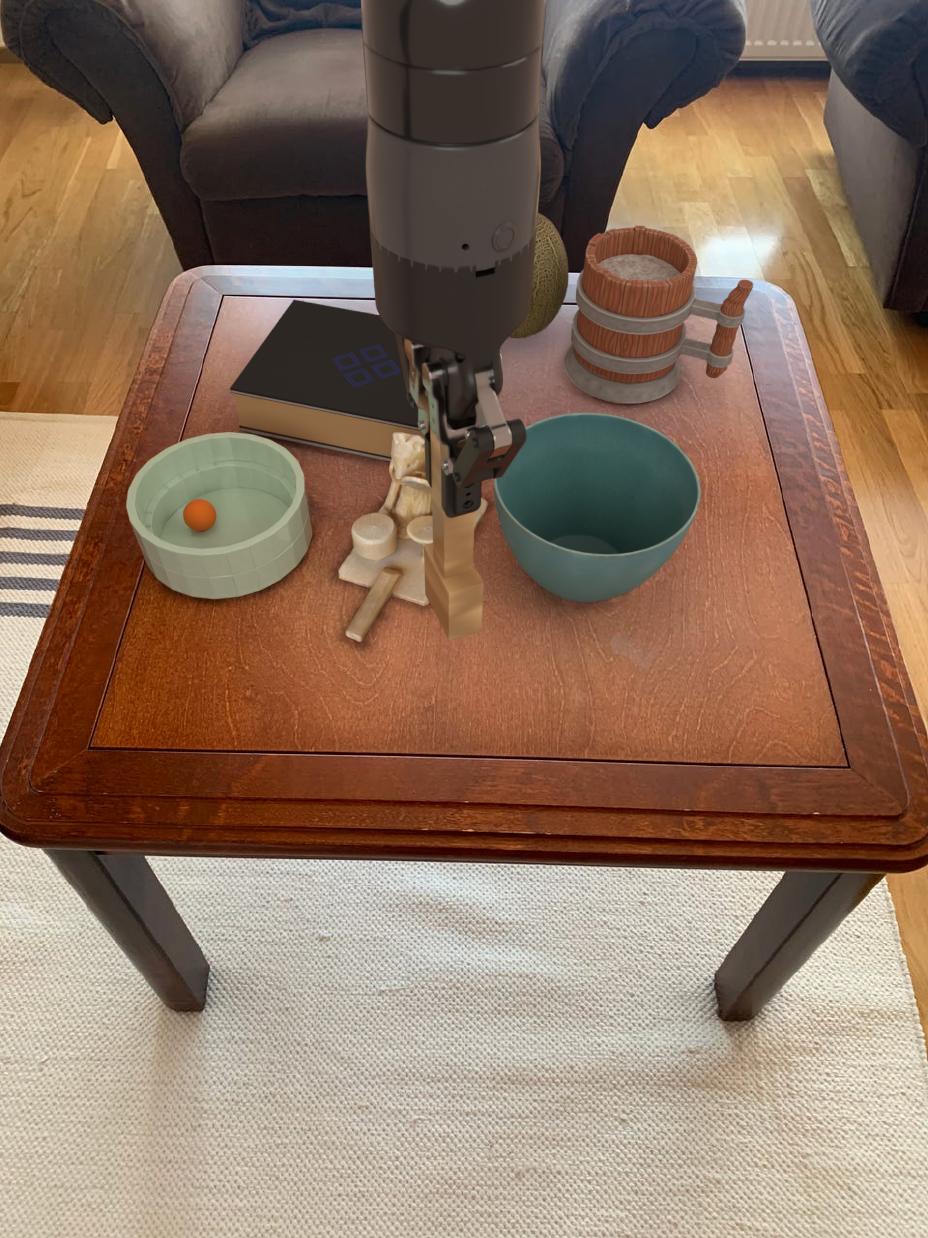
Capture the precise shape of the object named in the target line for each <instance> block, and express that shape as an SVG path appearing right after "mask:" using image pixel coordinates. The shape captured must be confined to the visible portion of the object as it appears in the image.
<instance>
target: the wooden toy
mask: <svg viewBox="0 0 928 1238" xmlns="http://www.w3.org/2000/svg"><path fill="white" fill-rule="evenodd" d="M391 458H392V460H391V462H389V468H388V472H389V475H390V478H391V482H390V486H389V489H388V493H387V496H386V499H385V501H384V503H383V505H382V506H381V508H380V509H379V510H378V511H373V512H369V513H365V514H364V515H360V516H359V517H358V518H356V519H355V521H354V522H353V523H352V525H351V529H350V530H351V531H350V533H351V538H352V546H353V548H351V549H352V550H351V551H350V552H349V554H348V555H347V557H346V558H345V560H344V561H343V562H342V564H341V565H340V567H339V568H338V570H337V573H338V578H339V580H342V581H346V582H349V583H352V584H354V585H358V586H361V587H364V588H367V589H369V591H368V593H367V594H366V596H365V598H364V600H363V602H362V603H361V604H360V606H359V607H358V609H357V610H356V612H355V614H354V616H353V617H352V619H351V621H350V623H348V626H347V627H346V629H345V632H344V634H345V636H346V637H348V638H349V639H352V640H354V641H356V642H358V643H361V642H363V641H364V639H365V637H366V635H367V633H368V632H369V630H371V627H372V626H373V624H374V623H375V622H376V620H377V618H378V615H379V614H380V613H381V611H382V610H383V609H384V605H385V604H386V603H387V601H389V600H390V598H391V597H394V598H398V599H401V600H404V601H406V602H410V603H414V604H417V605H419V606H422V607H425V606H428V605H430V603H429V601H428V599H427V597H426V595H425V570H424V545H427V544H431V543H433V521H432V488H431V487H430V485H429V483H428V481H427V480H426V470H425V439H424V438H422V437H421V436H419V435H415V434H408V433H406V432H402V431H400V432H395V433H393V440H392V450H391ZM488 506H489V502H488V501H487V499H485V498H483V497H481V506H480V508H479V509H478V510H476V511H475V518H474V531H476V529H477V527H478V525H479V524H480V522H481V520H482V519H483V516H484V515H485V514H486V511H487V509H488Z"/></svg>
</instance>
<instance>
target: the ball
mask: <svg viewBox="0 0 928 1238" xmlns="http://www.w3.org/2000/svg"><path fill="white" fill-rule="evenodd" d="M183 518H184V521H185V523H186V525H187V526H188V527H189V528H190V529H192V530H194V531H199V532H201V531H206V530H208V529H210V528H211V527H212V526H213V525H214V523H215V521H216V511H215V508H214V507H213V505H212V504H211V503H209V502H208V501H206V500H202V499H196V500H193V501H191V502H189V503H188V504H187V505H186V507H185V508H184V511H183Z"/></svg>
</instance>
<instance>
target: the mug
mask: <svg viewBox="0 0 928 1238" xmlns="http://www.w3.org/2000/svg"><path fill="white" fill-rule="evenodd" d="M697 267H698V256H697V255H696V252H695V251H694V249H693V248H692V247H691V246H690V244H688V243H687V242H686V241H685V240H684V239H683V238H681V237H679V236H678V235H675V234H673V233H670V232H666V231H662V230H659V229H655V228H648V227H646V225H639V224H638V225H636V224H635V225H634V226H633V227H632V226H631V227H621V228H615V227H614V228H611V229H606V230H605V232H603V233H600V232H598V233H597V234H595V235H594V236H592V237H591V239H589V241H588V244H587V247H586V249H585V257H584V265H583V269H582V270H581V271H580V273H579V275H578V276H577V279H576V289H575V302H576V306H577V307H578V309H577V311H576V312H575V313H574V316H573V318H572V324H571V330H570V331H571V332H570V340H571V343H572V345H570V347H569V348H568V350H567V351H566V353H565V356H564V359H563V368H564V370H565V374H566V375H567V377H568V378H569V381H571V382H572V383H573V385H574V386H576V387H577V388H578V389H579V390H581V391H582V392H583V393H585V394H586V395H589V396H590V397H593V398H595V399H597V400H600V401H603V402H605V403H610V404H616V405H640V404H645V403H650V402H652V401H655V400H658V399H660V398H663V397H664V396H666V395H667V394H669V393H671V392H672V391H673V390H674V389H675V388H676V387H677V385H678V384H679V382H680V381H681V377H682V365H681V363H680V360H679V358H680V357H681V355H683V356H687V357H691V358H695V359H699V360H703V361H706V368H705V374H706V377H708V378H711V379H717V378H719V377H720V376H722V375H723V374H724V373H725V372H726V371H727V370H728V367H730V366H731V364H732V362H733V359H734V348H733V346H734V343H735V341H736V337H737V332H738V330H739V328H740V326H741V325H742V324H743V323H744V318H745V316H746V309H745V307H744V306H745V303H746V301H747V299H748V298H749V296H750V294H751V292H752V290H753V289H754V283H753V282H752V281H751V280H749V279H745V278H744V279H740V280H739V281H738V282H737V285H736V287H734V288H733V289H732V290H731V291H730V292H729V293H728V296H727V297H726V298H724V300H723V301H722V303H719V302H714V301H711V300H705V299H700V298H697V297H696V295H697V294H696V293H697V292H696V291H697V290H696V285H695V284H694V281H695V275H696V270H697ZM690 316H695V317H699V318H705V319H707V320H713V321H716V326H715V331H714V334H713V337H712V340H711V343H708V342H704V341H700V340H696V339H692V338H688V337H687V326H686V323H685V322H686V321H687V320H688V319H689V318H690Z"/></svg>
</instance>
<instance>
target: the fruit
mask: <svg viewBox="0 0 928 1238" xmlns="http://www.w3.org/2000/svg"><path fill="white" fill-rule="evenodd" d="M567 255H568V254H567V251H566V247H565V245H564V241H563V240H562V237H561V235H560V233H559V231H558V230H557V228H556V227H555V225H554V224H553V222H552V220H550V219H548V217H546V216H545V215H543V214H542V213H539V212H538V216H537V231H536V244H535V257H534V271H533V284H532V297H531V306H530V310H529V313H528V315H527V317H526V319H525V320H524V322H523V323H522V324H521V325H520V326H519V327H518V328H517V329H516V330H515V331H514V332H513V333H512V334H511V335H510V336H509V337H508V338H513V339H525V338H528V337H531V336H534V335H537V334H539V333H540V332H542V331H543V330H545V329H547V327H548V326H550V325H551V323H552V322H553V321H554V319H555V318H556V317H557V316H558V314H559V312H560V311H561V308H562V306H563V304H564V301H565V299H566V297H567V292H568V288H569V277H570V276H569V261H568V256H567Z"/></svg>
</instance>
